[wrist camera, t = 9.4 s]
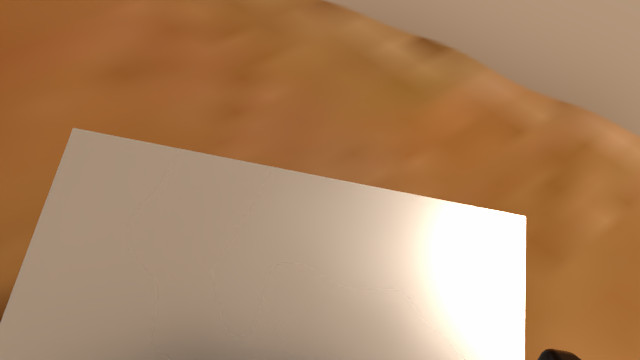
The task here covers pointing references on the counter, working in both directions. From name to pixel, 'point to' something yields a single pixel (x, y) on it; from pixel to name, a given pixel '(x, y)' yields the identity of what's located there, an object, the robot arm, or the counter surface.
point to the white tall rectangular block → (256, 266)
